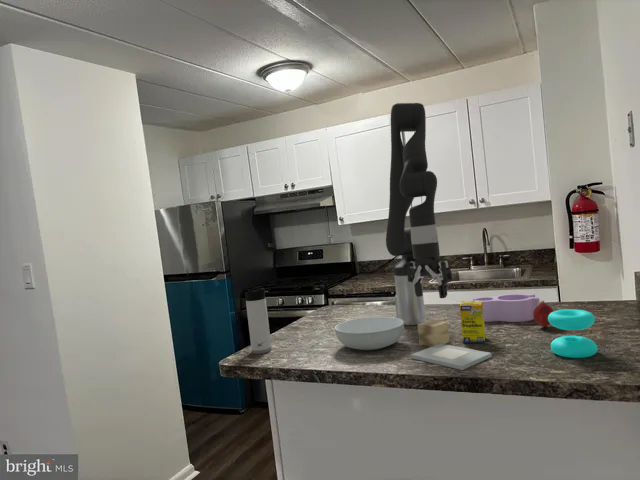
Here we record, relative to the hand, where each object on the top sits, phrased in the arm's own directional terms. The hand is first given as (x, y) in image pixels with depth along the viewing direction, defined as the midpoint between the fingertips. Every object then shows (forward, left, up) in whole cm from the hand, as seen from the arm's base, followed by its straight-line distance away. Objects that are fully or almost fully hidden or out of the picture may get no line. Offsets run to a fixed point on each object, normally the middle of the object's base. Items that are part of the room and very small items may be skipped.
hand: (431, 297), depth 131 cm
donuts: (+34, +11, -14) cm, 38 cm away
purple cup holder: (+1, +35, -14) cm, 38 cm away
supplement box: (+8, +8, -14) cm, 18 cm away
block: (0, 0, -14) cm, 14 cm away
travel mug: (-40, -35, -14) cm, 55 cm away
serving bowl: (-14, -12, -14) cm, 23 cm away
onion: (+17, +30, -14) cm, 37 cm away
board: (+12, -8, -14) cm, 20 cm away
